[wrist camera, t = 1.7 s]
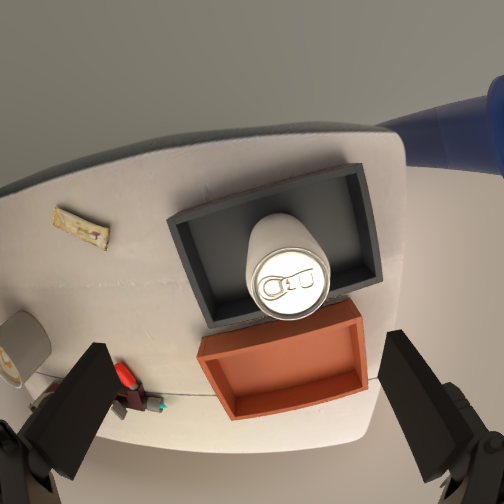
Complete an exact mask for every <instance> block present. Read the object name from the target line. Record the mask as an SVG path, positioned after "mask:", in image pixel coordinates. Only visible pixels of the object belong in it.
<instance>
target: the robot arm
mask: <svg viewBox="0 0 504 504" xmlns="http://www.w3.org/2000/svg"><path fill="white" fill-rule="evenodd" d="M377 377H378V379H379V381H380V383H381V385H382V387H383V389H384V391H385V393H386V395H387V398H388V400H389V402H390V404H391V406H392V408H393V410H394V413H395V415H396V417H397V419H398V421H399V424H400V426H401V428H402V430H403V433H404V435H405V437H406V440H407V442H408V444H409V446H410V449H411V451H412V453H413V456H414V458H415V461H416V463H417V465H418V468H419V471H420V473H421V476H422V478H423V481H424V483H427V482H430V481H432V480H434V479H437V478H439V477H441V476H442V475H443V474H444V473H445V472H446V471H447V470H448V469H449V471H450V475H449V477H447V478H446V480H445V481H444V482H443V483H442V484H441V486H440V487H441V488H442V487H443V486H444V485H445V484H446V485H445V488H444V490H443V493H442V495H441V498H440V500H439V502H438V504H504V436H503V435H502V434H501V433H499V432H496V431H490V432H489V430H488V429H487V428H486V427H485V425H484V423H483V422H482V420H481V419H480V417H479V416H478V414H477V413H476V411H475V410H474V409H473V407H472V406H470V403H469V401H468V400H467V399H465V396H464V394H463V393H462V391H461V390H460V389H459V388H458V387H457V386H455V385H454V384H452V383H451V382H448V383H445V384H441V383H440V381H439V380H438V378H437V377H436V375H435V374H434V373H433V372H432V370H431V368H430V367H429V366H428V364H427V363H426V361H425V360H424V359H423V357H422V356H421V355H420V353H419V352H418V351H417V349H416V348H415V347H414V345H413V344H412V343H411V341H410V340H409V339H408V337H407V336H406V335H405V333H404V332H403V331H402V330H395V331H390V332H387V335H386V340H385V345H384V350H383V355H382V359H381V364H380V368H379V372H378V376H377ZM121 387H122V383H121V381H120V378H119V376H118V374H117V371H116V369H115V367H114V364H113V362H112V359H111V357H110V354H109V352H108V349H107V347H106V344H105V343H95V342H93V343H92V345H91V346H90V347H89V348H88V349H87V351H86V352H85V353H84V354H83V356H82V357H81V358H80V359H79V360H78V362H77V363H76V364H75V365H74V367H73V368H72V369H71V371H70V372H69V373H68V374H67V376H66V377H65V378H64V380H63V381H62V382H61V383H60V385H59V386H58V387H57V389H56V390H55V391H54V393H52V392H51V393H50V394H48V395H47V396H46V397H44V398H43V399H42V400H41V402H40V403H39V404H38V407H36V409H35V410H34V411H33V413H32V414H31V415H30V417H29V418H28V419H27V421H26V422H25V424H24V425H23V427H22V428H21V429H20V431H19V432H18V433H17V435H16V433H15V432H14V431H13V430H12V428H11V427H10V426H9V425H8V423H7V422H6V421H4V420H0V504H61V501H60V497H59V494H58V491H57V487H56V484H55V480H54V477H53V474H52V473H51V472H50V471H51V469H52V468H53V469H54V470H55V471H56V472H57V473H58V474H59V475H61V476H63V477H65V478H68V479H70V480H72V481H73V480H74V477H75V475H76V473H77V471H78V469H79V467H80V465H81V463H82V461H83V459H84V457H85V455H86V453H87V451H88V449H89V447H90V444H91V443H92V441H93V439H94V437H95V435H96V433H97V431H98V429H99V427H100V425H101V424H102V422H103V420H104V418H105V416H106V414H107V412H108V410H109V408H110V407H111V405H112V403H113V401H114V399H115V397H116V396H117V394H118V392H119V390H120V388H121Z"/></svg>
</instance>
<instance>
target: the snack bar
mask: <svg viewBox="0 0 504 504" xmlns="http://www.w3.org/2000/svg"><path fill="white" fill-rule="evenodd" d="M53 225H54V226H55V227H57V228H59V229H61V230H63V231H66V232H67V233H70V234H72V235H74V236H76V237H78V238H80V239H82V240H84V241H86V242H89V243H91V244H93V245H95V246H97V247H99V248H101V249H103V250H105V249H106V250H105V251H107V245H106V243H108V242H109V241H108V237H109V234H110V229H109V228H106V227H101V226H98V225H96V224H93V223H91V222H88V221H86V220H84V219H81V218H79V217H77V216H75V215H73V214H71V213H68V212H66V211H64V210H62V209H59V208H57V207H55V210H54V224H53ZM105 247H106V248H105Z"/></svg>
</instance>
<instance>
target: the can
mask: <svg viewBox="0 0 504 504" xmlns="http://www.w3.org/2000/svg"><path fill="white" fill-rule="evenodd" d="M246 283H247V287H248V290H249V293H250V295H251V296H252V298H253V299H254V301H255V303H256V304H257V306H258V307H259V308H260V309H261V310H262V311H263V312H264V313H266V314H267V315H269V316H271V317H273V318H276V319H280V320H297V319H301V318H304V317H306V316H308V315H310V314H312V313H313V312H315V311H316V310H317V309H318V308H319V307H320V306H321V305H322V304H323V302H324V301H325V299H326V297H327V295H328V292H329V288H330V266H329V262H328V259H327V257H326V255H325V253H324V252H323V250H322V249H321V247H320V246H319V244H318V243H317V242H316V240H315V239H314V238H313V236H312V235H311V234H310V232H309V231H308V230H307V229H306V227H305V226H304V225H303V224H302V223H301V222H300V221H299V220H298V219H297V218H295V217H293V216H291V215H289V214H284V213H275V214H271V215H268V216H266V217H264V218H262V219H261V220H260V221H259V222H258V223H257V224H256V225H255V227H254V228H253V230H252V232H251V235H250V240H249V247H248V256H247V265H246Z"/></svg>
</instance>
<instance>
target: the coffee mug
mask: <svg viewBox="0 0 504 504" xmlns="http://www.w3.org/2000/svg"><path fill="white" fill-rule="evenodd" d="M50 353H51V345H50V341H49V339H48V336H47V334H46V332H45V331H44V329H43V328H42V326H41V325H40V324H39V322H38V321H37V320H36V319H35V318H34V317H33V316H31V315H30V314H28V313H26V312H23V311H20V312H18V313H16V314H15V315H14V316H12V317H11V318H10V319H9V320H7V321H6V322H5V323H4V324H2V325H1V326H0V376H1V378H3V380H4V381H6V382H7V383H8V384H9V385H11V386H13V387H15V388H21V387H22V386H23V385H24V383H25V382H26V381H27V380H28V379H29V378H30V377H31V375H32V374H33V373H34V372H35V371H36V370H37V369H38V368H39V366H40V365H41V364H42V363H43V362H44V361H45V360H46V359H47V358H48V357H49V355H50Z"/></svg>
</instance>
